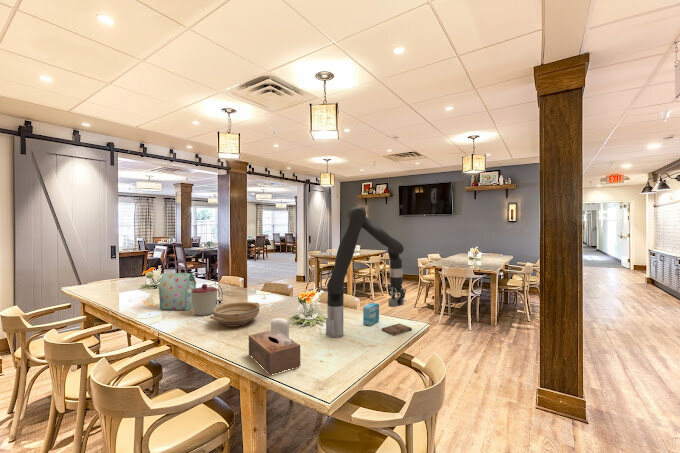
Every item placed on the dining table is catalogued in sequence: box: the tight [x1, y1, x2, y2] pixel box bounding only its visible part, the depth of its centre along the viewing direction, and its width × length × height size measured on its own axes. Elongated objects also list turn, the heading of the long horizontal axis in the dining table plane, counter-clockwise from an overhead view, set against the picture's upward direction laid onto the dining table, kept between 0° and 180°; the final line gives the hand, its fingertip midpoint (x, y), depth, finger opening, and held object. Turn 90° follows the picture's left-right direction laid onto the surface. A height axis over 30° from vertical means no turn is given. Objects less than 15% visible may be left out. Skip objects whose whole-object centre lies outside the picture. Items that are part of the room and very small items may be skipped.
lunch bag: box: [158, 272, 197, 311], centre depth 236 cm, size 23×16×27 cm
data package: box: [362, 302, 380, 327], centre depth 200 cm, size 12×4×12 cm, turn 142°
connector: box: [387, 296, 407, 308], centre depth 186 cm, size 12×4×4 cm, turn 123°
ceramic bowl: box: [210, 301, 261, 327], centre depth 201 cm, size 37×28×10 cm
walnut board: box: [381, 323, 413, 337], centre depth 186 cm, size 15×10×2 cm, turn 126°
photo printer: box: [270, 317, 290, 338], centre depth 171 cm, size 10×4×12 cm, turn 72°
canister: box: [190, 283, 219, 317], centre depth 221 cm, size 18×18×21 cm
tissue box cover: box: [248, 329, 301, 376], centre depth 146 cm, size 26×14×10 cm, turn 36°
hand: (396, 304), depth 186 cm, fingers closed on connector, 4 cm apart
